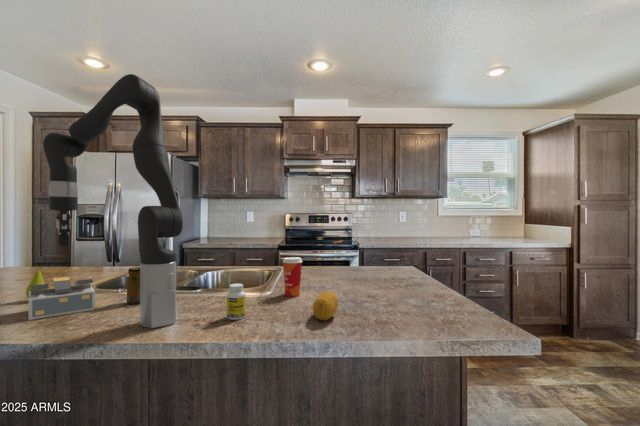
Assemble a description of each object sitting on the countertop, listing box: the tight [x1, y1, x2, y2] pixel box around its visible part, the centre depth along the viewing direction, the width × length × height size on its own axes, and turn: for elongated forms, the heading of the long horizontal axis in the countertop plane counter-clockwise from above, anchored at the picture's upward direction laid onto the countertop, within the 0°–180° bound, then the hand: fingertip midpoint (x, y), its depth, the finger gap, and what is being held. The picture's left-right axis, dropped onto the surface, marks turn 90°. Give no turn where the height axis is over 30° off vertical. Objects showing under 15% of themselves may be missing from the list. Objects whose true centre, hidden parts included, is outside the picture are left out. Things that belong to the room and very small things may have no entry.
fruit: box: [25, 265, 45, 299], centre depth 116 cm, size 6×6×12 cm
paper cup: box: [282, 256, 303, 297], centre depth 127 cm, size 8×8×14 cm
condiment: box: [122, 266, 140, 308], centre depth 114 cm, size 7×8×12 cm
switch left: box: [31, 283, 50, 291], centre depth 102 cm, size 10×4×1 cm, turn 41°
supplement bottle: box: [226, 283, 246, 321], centre depth 99 cm, size 5×5×10 cm
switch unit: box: [28, 283, 96, 321], centre depth 105 cm, size 12×16×7 cm
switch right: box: [73, 278, 94, 286], centre depth 109 cm, size 10×4×1 cm, turn 41°
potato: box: [312, 290, 339, 321], centre depth 100 cm, size 7×14×7 cm, turn 167°
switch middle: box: [52, 276, 72, 294], centre depth 105 cm, size 10×4×1 cm, turn 41°
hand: (63, 245), depth 108 cm, fingers open, 8 cm apart
